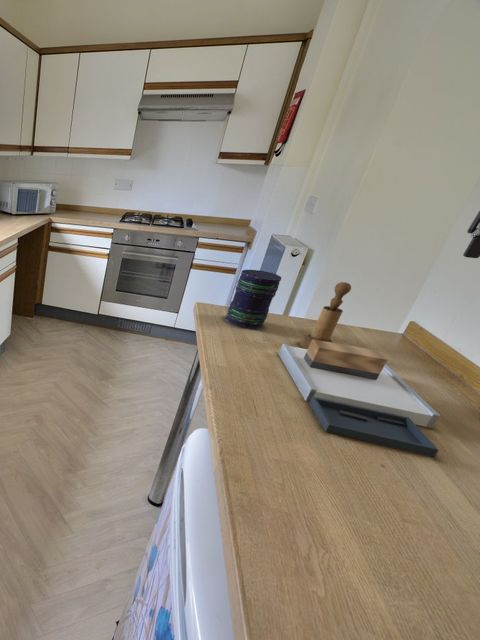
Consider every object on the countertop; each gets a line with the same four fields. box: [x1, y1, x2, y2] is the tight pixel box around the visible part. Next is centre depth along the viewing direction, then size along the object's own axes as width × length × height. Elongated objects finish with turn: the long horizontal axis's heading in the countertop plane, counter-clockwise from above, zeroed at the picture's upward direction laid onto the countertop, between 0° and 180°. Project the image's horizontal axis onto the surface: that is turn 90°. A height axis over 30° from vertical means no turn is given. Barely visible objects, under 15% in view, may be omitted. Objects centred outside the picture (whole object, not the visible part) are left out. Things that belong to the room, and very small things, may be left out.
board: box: [278, 343, 441, 429], centre depth 90 cm, size 20×24×3 cm
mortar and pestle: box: [299, 281, 352, 349], centre depth 104 cm, size 7×6×18 cm
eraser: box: [304, 339, 388, 380], centre depth 91 cm, size 12×5×5 cm, turn 67°
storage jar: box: [224, 269, 282, 330], centre depth 119 cm, size 10×10×15 cm
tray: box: [308, 397, 439, 458], centre depth 76 cm, size 15×10×2 cm
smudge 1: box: [339, 410, 368, 422], centre depth 79 cm, size 4×1×1 cm, turn 60°
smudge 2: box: [376, 416, 406, 427], centre depth 78 cm, size 4×1×1 cm, turn 67°
